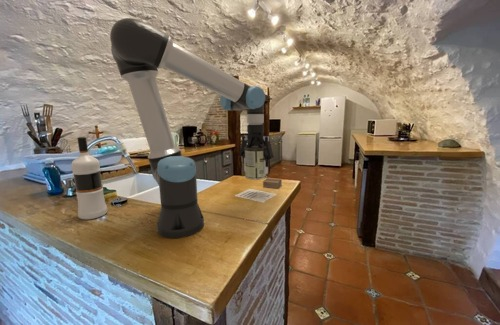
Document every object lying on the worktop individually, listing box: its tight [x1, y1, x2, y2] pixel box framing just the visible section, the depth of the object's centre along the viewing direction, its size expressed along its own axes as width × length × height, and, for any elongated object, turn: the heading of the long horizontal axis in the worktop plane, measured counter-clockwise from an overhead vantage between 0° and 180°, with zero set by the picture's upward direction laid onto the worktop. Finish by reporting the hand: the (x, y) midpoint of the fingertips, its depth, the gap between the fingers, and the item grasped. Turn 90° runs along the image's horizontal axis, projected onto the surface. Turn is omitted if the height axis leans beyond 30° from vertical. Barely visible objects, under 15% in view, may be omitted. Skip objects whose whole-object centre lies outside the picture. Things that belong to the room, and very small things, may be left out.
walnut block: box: [262, 177, 283, 190], centre depth 118 cm, size 8×8×4 cm
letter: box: [234, 188, 278, 203], centre depth 104 cm, size 13×16×1 cm
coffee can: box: [244, 145, 268, 181], centre depth 101 cm, size 10×10×14 cm
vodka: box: [70, 136, 109, 221], centre depth 81 cm, size 9×9×30 cm
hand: (255, 172), depth 102 cm, fingers closed on coffee can, 10 cm apart
